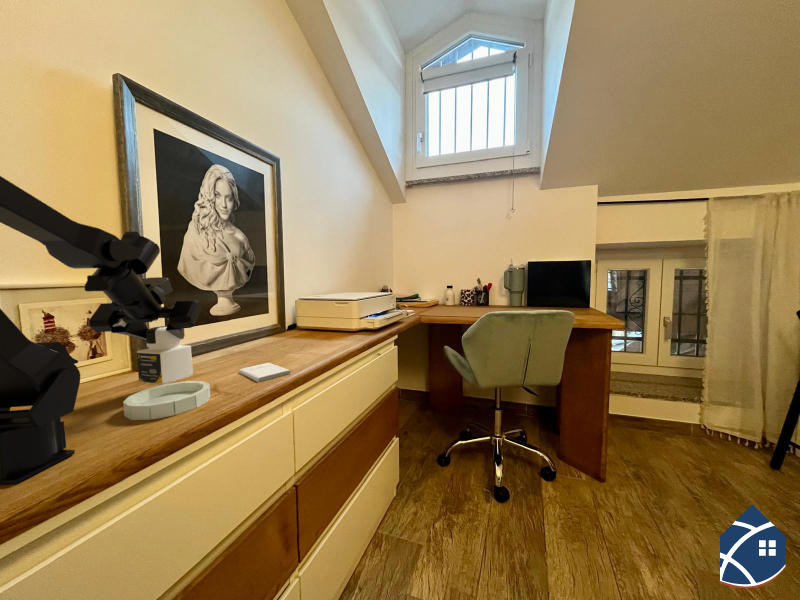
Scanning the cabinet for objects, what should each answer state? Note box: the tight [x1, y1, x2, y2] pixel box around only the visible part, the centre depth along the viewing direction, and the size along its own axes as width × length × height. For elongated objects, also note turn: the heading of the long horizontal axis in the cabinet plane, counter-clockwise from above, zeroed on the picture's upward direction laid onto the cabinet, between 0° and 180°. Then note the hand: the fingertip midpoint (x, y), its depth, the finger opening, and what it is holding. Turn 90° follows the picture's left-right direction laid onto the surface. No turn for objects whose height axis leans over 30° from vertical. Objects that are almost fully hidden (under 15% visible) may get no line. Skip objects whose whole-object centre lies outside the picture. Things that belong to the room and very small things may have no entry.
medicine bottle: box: [136, 325, 194, 386], centre depth 67 cm, size 7×7×12 cm
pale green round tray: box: [122, 380, 211, 421], centre depth 59 cm, size 13×13×2 cm
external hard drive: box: [238, 362, 292, 383], centre depth 78 cm, size 2×8×12 cm
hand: (167, 338), depth 69 cm, fingers closed on medicine bottle, 6 cm apart
